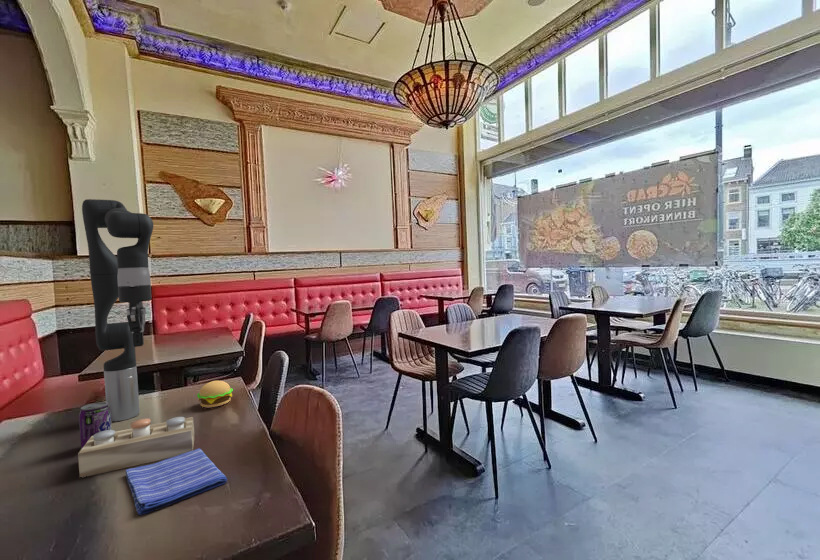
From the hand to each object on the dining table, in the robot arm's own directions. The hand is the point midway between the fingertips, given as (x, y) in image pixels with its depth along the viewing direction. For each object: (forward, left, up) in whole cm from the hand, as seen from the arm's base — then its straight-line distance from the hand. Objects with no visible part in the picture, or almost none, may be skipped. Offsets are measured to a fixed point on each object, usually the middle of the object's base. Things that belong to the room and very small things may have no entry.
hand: (138, 346), depth 109 cm
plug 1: (+5, -8, -29) cm, 30 cm away
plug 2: (+5, +8, -29) cm, 30 cm away
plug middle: (+5, 0, -27) cm, 28 cm away
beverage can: (-10, -13, -29) cm, 33 cm away
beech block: (+5, 0, -29) cm, 29 cm away
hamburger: (-31, +18, -29) cm, 46 cm away
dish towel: (+25, +9, -30) cm, 40 cm away
